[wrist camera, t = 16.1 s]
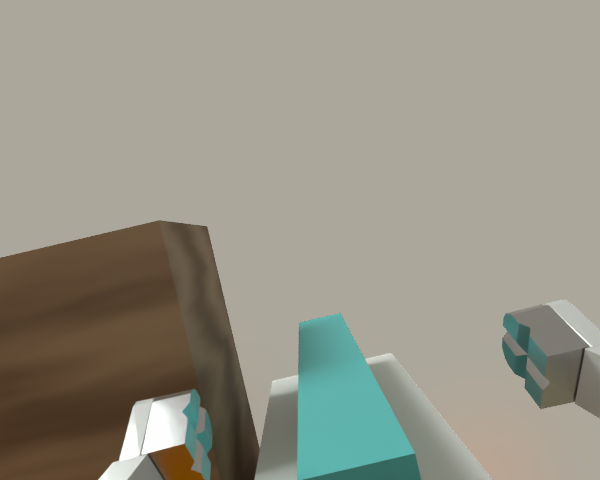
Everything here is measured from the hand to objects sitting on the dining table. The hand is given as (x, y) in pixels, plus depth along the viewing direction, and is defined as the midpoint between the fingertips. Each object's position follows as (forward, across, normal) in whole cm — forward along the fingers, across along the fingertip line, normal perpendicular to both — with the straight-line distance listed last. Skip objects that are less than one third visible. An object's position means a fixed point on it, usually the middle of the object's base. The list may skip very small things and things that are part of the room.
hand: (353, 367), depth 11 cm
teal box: (+5, 0, -10) cm, 11 cm away
